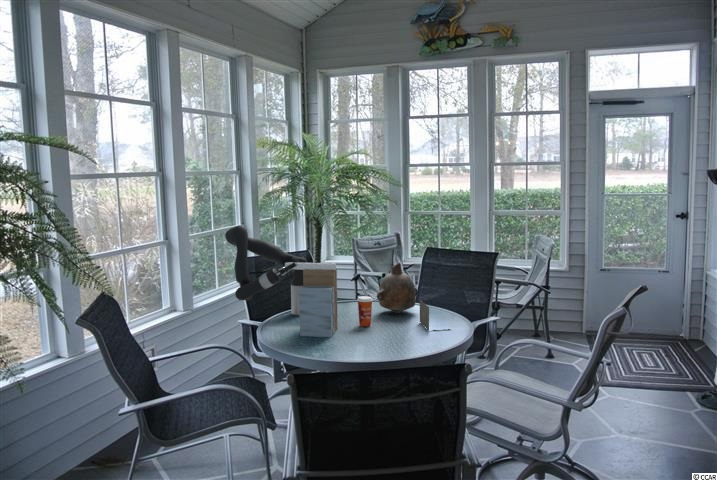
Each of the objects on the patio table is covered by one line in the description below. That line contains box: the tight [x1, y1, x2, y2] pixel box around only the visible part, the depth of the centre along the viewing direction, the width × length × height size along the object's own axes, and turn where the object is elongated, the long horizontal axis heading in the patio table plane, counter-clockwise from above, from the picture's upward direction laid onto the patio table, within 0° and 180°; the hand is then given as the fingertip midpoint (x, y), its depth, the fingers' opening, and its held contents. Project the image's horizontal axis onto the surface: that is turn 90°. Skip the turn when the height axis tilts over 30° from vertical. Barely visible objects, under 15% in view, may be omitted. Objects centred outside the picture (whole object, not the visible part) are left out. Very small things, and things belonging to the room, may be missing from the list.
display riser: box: [299, 268, 339, 338], centre depth 290 cm, size 15×16×32 cm
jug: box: [376, 262, 418, 314], centre depth 330 cm, size 24×21×30 cm
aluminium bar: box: [285, 262, 337, 270], centre depth 293 cm, size 4×26×3 cm, turn 80°
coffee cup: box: [356, 295, 373, 327], centre depth 304 cm, size 8×8×15 cm
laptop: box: [419, 299, 430, 331], centre depth 301 cm, size 18×12×13 cm
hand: (296, 263), depth 294 cm, fingers open, 5 cm apart
